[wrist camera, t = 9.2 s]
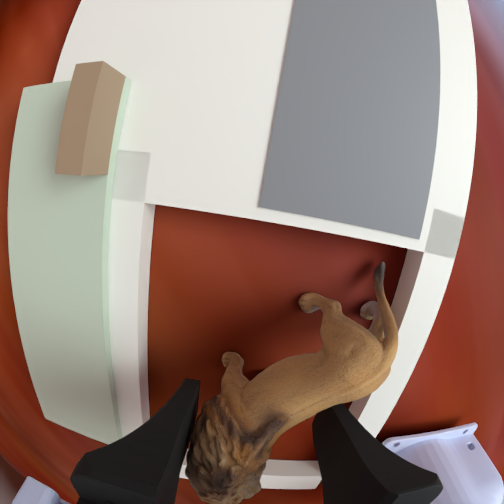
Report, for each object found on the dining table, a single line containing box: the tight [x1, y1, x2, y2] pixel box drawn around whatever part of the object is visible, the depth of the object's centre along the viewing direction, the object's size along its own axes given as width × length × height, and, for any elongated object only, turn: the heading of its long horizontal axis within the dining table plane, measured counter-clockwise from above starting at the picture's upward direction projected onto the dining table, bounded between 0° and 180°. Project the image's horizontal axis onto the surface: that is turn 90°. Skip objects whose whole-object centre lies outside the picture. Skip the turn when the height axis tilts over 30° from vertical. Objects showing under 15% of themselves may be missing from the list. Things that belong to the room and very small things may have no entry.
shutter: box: [8, 61, 131, 444], centre depth 11 cm, size 6×20×3 cm, turn 171°
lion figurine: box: [185, 262, 398, 504], centre depth 11 cm, size 12×4×7 cm, turn 137°
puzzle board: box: [53, 0, 477, 489], centre depth 12 cm, size 20×36×2 cm, turn 170°
